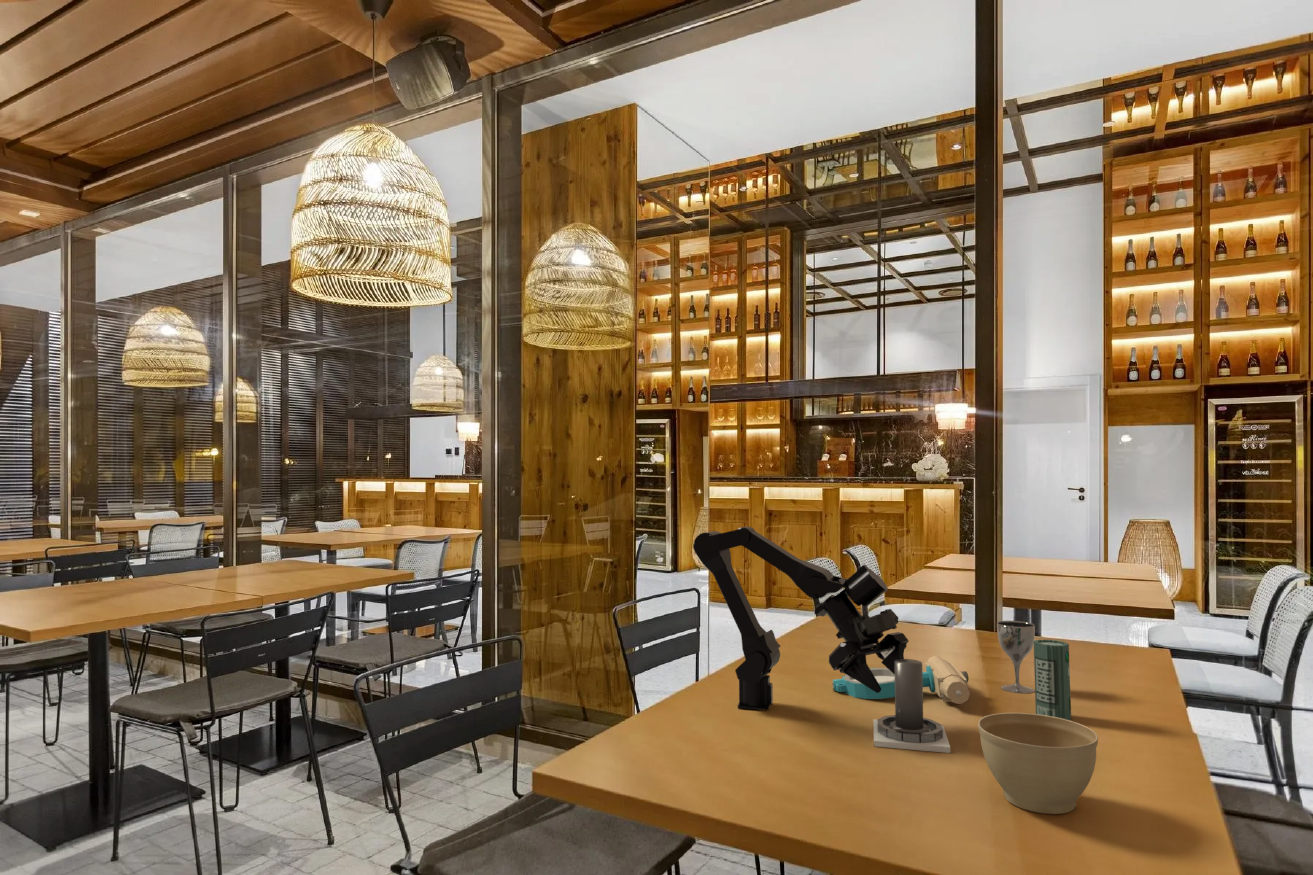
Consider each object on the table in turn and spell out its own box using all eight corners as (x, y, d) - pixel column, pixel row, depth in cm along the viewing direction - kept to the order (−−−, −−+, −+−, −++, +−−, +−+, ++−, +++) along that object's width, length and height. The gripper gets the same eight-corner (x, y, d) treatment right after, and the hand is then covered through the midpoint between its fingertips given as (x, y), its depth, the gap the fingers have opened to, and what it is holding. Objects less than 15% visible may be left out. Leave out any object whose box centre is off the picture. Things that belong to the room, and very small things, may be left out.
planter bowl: (996, 773, 125) (995, 705, 126) (1109, 798, 115) (1107, 725, 115) (965, 805, 113) (963, 730, 113) (1088, 837, 102) (1085, 754, 103)
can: (1076, 718, 154) (1074, 643, 155) (1059, 723, 151) (1056, 647, 151) (1047, 710, 159) (1045, 638, 160) (1030, 715, 156) (1028, 641, 157)
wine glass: (999, 691, 174) (997, 625, 174) (998, 683, 181) (996, 619, 182) (1038, 695, 171) (1036, 627, 172) (1035, 686, 178) (1033, 621, 179)
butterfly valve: (837, 720, 162) (985, 712, 156) (833, 687, 162) (980, 678, 157) (832, 687, 188) (958, 679, 183) (828, 659, 189) (954, 650, 183)
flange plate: (874, 746, 138) (873, 732, 138) (873, 724, 150) (873, 711, 150) (950, 752, 134) (950, 738, 134) (943, 729, 147) (942, 716, 147)
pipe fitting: (890, 736, 140) (889, 664, 141) (889, 724, 147) (888, 656, 147) (930, 739, 138) (929, 667, 139) (927, 728, 145) (926, 659, 146)
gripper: (839, 600, 145) (889, 670, 135) (899, 592, 156) (949, 656, 146) (809, 635, 151) (854, 705, 141) (868, 624, 162) (914, 689, 152)
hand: (894, 687), depth 145 cm, fingers open, 9 cm apart
